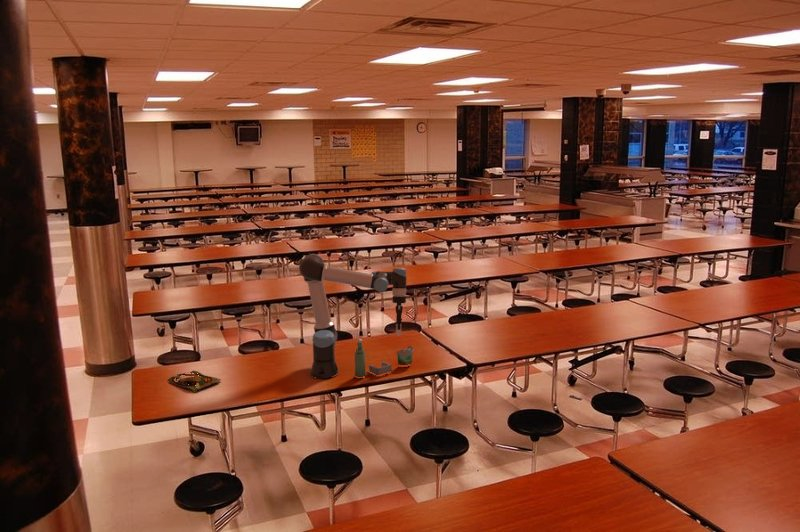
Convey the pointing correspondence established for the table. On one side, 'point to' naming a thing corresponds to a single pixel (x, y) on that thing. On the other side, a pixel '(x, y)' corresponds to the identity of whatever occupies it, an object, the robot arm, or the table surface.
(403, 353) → the food container
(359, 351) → the bottle
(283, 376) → the table surface
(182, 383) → the prepared meal
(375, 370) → the bottle rest
